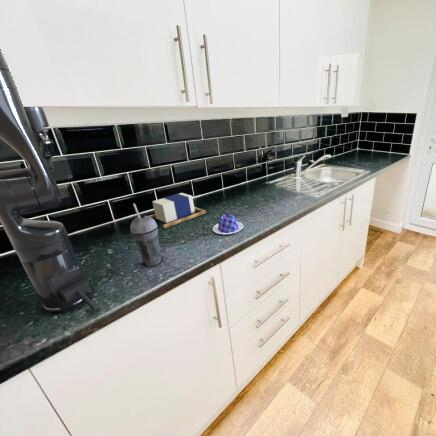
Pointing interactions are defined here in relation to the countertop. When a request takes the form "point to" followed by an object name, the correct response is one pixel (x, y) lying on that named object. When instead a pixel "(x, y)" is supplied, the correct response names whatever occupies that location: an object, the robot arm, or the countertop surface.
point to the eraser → (173, 207)
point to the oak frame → (183, 218)
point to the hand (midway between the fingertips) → (49, 171)
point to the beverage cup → (146, 238)
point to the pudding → (227, 225)
